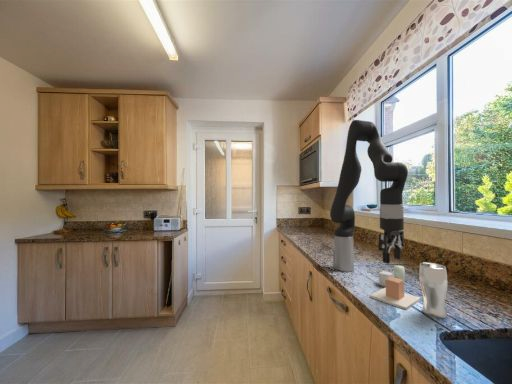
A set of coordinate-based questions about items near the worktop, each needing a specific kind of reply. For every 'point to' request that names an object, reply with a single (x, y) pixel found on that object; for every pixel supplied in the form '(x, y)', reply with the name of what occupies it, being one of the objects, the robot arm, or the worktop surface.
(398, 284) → the terracotta block
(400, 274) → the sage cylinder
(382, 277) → the grey block
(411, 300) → the cream pad
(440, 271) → the beer glass
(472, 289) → the worktop surface
